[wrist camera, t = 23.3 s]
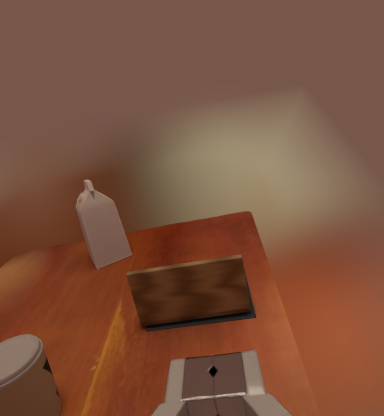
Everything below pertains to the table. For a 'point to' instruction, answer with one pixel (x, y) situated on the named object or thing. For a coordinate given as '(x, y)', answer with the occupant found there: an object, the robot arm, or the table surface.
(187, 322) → the mat
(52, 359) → the table surface
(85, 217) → the milk
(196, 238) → the table surface
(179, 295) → the drawer
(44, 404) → the coffee cup
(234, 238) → the table surface
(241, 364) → the robot arm
